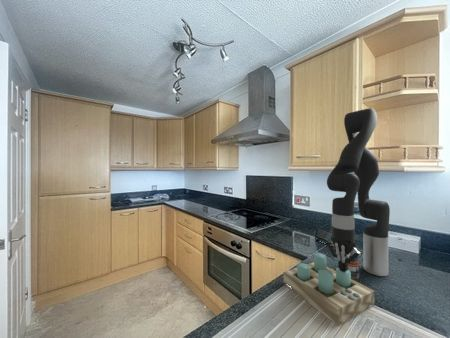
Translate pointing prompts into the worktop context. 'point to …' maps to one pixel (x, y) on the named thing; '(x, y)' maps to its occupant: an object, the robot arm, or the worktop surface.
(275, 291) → the worktop surface
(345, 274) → the button
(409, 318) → the worktop surface
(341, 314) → the console
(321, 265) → the button
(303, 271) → the button
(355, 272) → the supplement bottle
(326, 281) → the button
